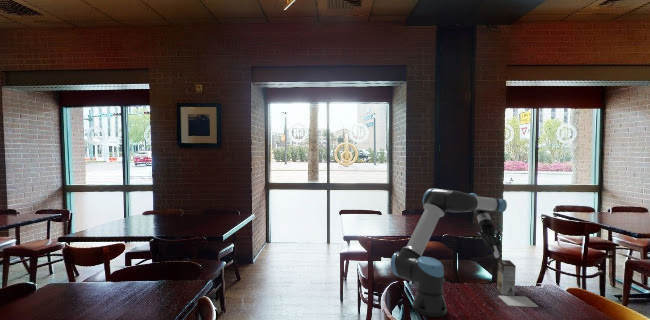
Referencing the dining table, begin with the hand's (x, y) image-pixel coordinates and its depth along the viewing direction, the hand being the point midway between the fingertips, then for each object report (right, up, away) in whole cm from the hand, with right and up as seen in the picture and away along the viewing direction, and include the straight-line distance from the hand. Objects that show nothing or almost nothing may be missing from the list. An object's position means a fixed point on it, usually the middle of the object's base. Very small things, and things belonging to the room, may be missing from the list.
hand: (497, 256), depth 187 cm
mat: (-2, -15, -23) cm, 28 cm away
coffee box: (-2, -15, -12) cm, 20 cm away
